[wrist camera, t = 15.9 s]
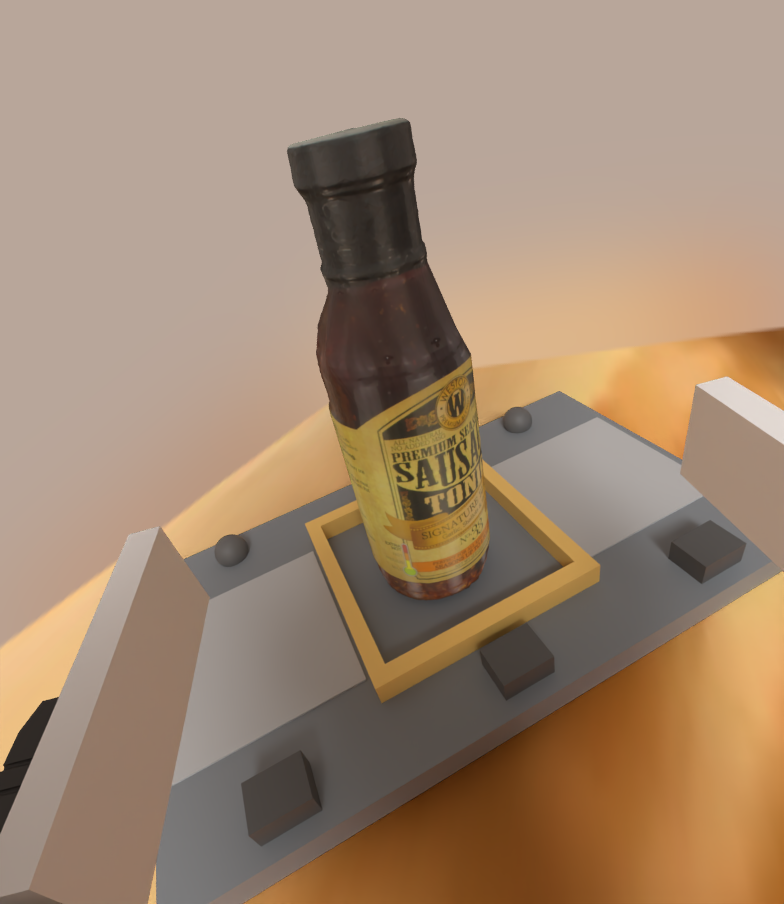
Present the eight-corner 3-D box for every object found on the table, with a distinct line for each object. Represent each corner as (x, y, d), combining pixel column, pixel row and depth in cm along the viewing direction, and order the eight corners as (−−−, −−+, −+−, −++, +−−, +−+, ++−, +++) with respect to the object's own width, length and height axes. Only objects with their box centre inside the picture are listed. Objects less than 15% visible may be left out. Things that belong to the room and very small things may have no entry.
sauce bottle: (441, 630, 23) (311, 144, 11) (356, 569, 27) (198, 168, 15) (520, 543, 26) (481, 93, 14) (433, 500, 30) (349, 124, 19)
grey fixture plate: (559, 407, 38) (559, 374, 36) (806, 556, 23) (824, 513, 22) (165, 587, 31) (142, 558, 29) (177, 943, 17) (135, 925, 15)
